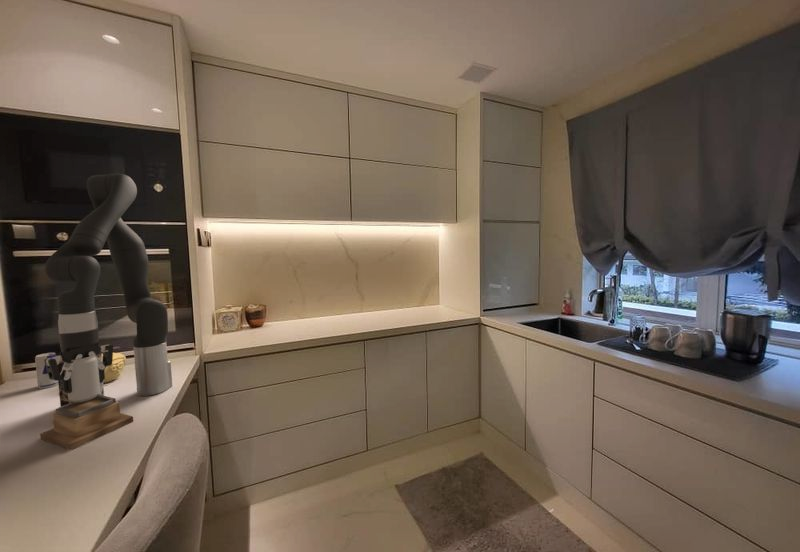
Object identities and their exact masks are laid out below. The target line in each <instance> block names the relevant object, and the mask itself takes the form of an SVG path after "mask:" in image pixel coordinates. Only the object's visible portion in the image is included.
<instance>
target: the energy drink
mask: <svg viewBox="0 0 800 552" xmlns="http://www.w3.org/2000/svg"><path fill="white" fill-rule="evenodd" d="M56 356H58V355H57V354H56V352H46V353H41V354H37V355H36V356H35V357H34V360H35V361H34V363H35V370H36V372H35V373H36V379H37V380H36V382H37V388H39V389H40V390H41V389H42V390H43V389H50V388H53V387H56V386H59V384H58V381H56V380H51V379H49V376H48V372H47V368H46V365H45V361H44V360H45V359H46V358H53V357H56Z"/></svg>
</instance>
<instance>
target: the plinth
mask: <svg viewBox="0 0 800 552" xmlns="http://www.w3.org/2000/svg"><path fill="white" fill-rule="evenodd" d="M133 422H134V416H133V415H130V414H129V415H128V414H126V413H121V408H120V401H116V398H115V397H111V396H106V395H104V396H103V395H99V394H98V395H97V396H96V397H95V398H92V399H90V400H86V401H82V402H72V403H70V404H67V405H64V406H59V407H57V408H55V412H53V413H52V423H53V428H50V429H47V430H46V431H45V430H44V431H43V432H41V433H39V436H40V438H39V439H40V440H43V441H45V442H48V443H51V444H54V445H56V444H57V445H56V446H59V445H60V447H62V446H63V448H65V447H66V449H68V448H69V449H68V450H71V449H72V450H73V448H74V449H76V448H78V447H80V445H81V446H83V445H85V444H87V443H89V442H92V441H93V439H94V440H96V439H98V438H100V437H102V436H104V435H107V434H108V433H110V432H114V431H115V430H117V429H120V428H122V427H124V426H126V425H128V424H131V423H133ZM95 438H96V439H95ZM86 442H87V443H86ZM84 443H85V444H84ZM82 444H83V445H82ZM75 447H76V448H75Z"/></svg>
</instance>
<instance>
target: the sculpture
mask: <svg viewBox="0 0 800 552" xmlns="http://www.w3.org/2000/svg"><path fill="white" fill-rule="evenodd" d="M101 354H102V358H103V352H101ZM126 359H127V357H126V356H125V355H124V354H122V353H119V352H117V353H116V352H113V359H112V364H111V365H109V366H107V367H105V369H104V373H105V379H104V380H103V383H109V382H112V381H114V380H116V379H118V378H119V377H120V376H121V374H122V372H123V370H124V367H125V366H126V364H127V361H126Z"/></svg>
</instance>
